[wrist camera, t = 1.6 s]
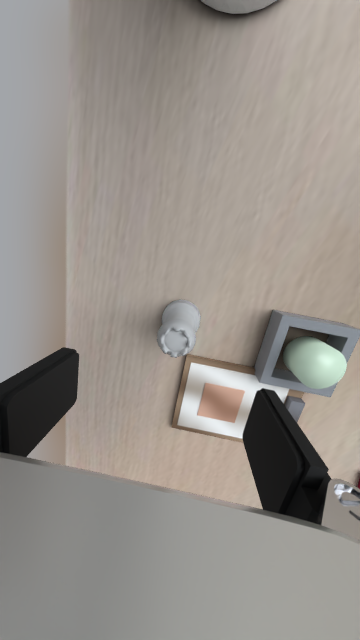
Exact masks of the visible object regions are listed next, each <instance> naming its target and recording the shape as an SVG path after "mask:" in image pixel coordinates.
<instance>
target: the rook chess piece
mask: <svg viewBox="0 0 360 640" xmlns="http://www.w3.org/2000/svg"><path fill="white" fill-rule="evenodd" d="M200 319H201V316H200V313H199V310H198V309H197V307H196V306H195V305H194V304H193V303H191V302H189V301H187V300H176V301H173V302H171V303H170V304H169V305H168V306H167V307H166V308H165V310H164V312H163V316H162V323H163V325H162V326H161V327H160V329H159V331H158V333H157V341H158V344H159V347H160V348H161V350H162V351H163V352H164V353H165V354H166V353H167V354H169V355H170V356H171V357H175V358H177V357H179V356H184V355H186V354H187V353H189V352H190V351H191V350H192V349H193V347H194V346H195V342H196V336H195V333H196V331H197V329H198V328H199V325H200Z"/></svg>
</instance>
